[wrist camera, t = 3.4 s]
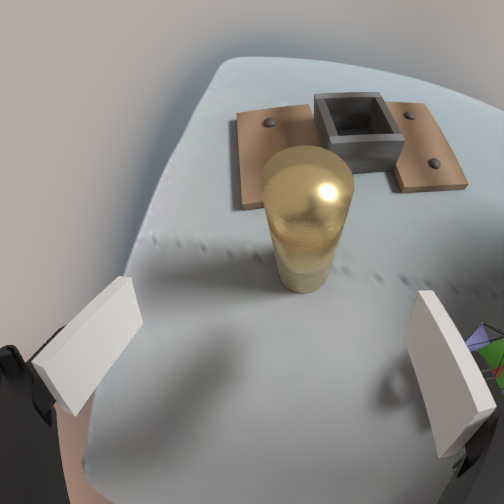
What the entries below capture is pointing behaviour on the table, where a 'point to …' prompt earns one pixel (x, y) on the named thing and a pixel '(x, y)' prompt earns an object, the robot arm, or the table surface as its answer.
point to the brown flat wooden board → (351, 141)
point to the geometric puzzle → (489, 352)
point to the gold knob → (305, 212)
